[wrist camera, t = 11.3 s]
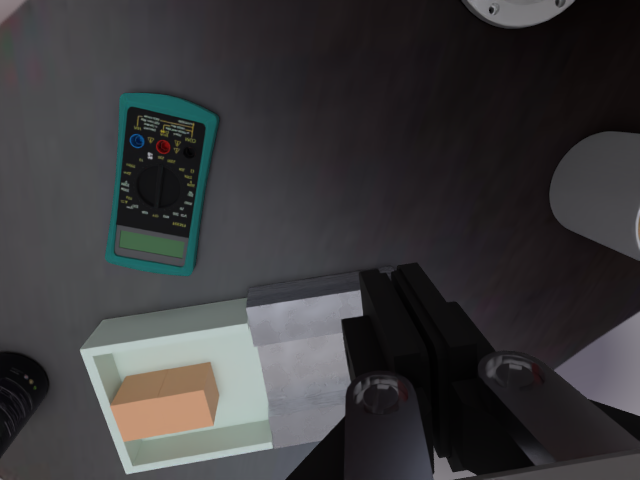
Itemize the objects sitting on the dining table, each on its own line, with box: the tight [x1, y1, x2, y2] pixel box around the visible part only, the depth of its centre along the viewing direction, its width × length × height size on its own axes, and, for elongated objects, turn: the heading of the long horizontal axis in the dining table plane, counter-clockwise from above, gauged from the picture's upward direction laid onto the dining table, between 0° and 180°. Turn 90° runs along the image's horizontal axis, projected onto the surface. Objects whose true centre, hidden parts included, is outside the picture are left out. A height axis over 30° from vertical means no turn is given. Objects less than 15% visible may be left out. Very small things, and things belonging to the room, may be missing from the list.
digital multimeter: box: [105, 93, 219, 276], centre depth 34 cm, size 7×15×3 cm, turn 166°
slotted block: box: [246, 266, 394, 449], centre depth 40 cm, size 14×16×4 cm
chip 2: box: [157, 362, 219, 434], centre depth 38 cm, size 4×4×4 cm
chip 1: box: [110, 369, 169, 442], centre depth 38 cm, size 4×4×4 cm
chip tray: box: [80, 298, 273, 474], centre depth 39 cm, size 14×14×5 cm
